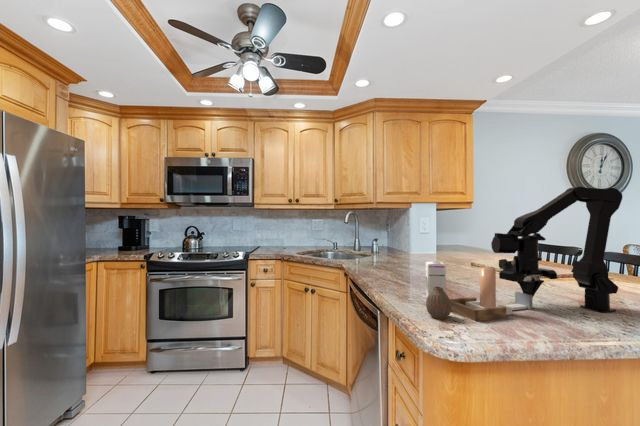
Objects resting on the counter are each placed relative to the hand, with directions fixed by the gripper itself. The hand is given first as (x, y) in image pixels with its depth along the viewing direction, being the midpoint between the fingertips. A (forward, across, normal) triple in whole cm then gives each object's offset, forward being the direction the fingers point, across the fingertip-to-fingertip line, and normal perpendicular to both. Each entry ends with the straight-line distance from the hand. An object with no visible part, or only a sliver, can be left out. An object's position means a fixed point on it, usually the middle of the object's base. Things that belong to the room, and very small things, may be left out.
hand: (528, 300), depth 95 cm
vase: (+2, +36, 0) cm, 36 cm away
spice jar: (+1, +17, 0) cm, 17 cm away
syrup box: (+2, +29, -10) cm, 30 cm away
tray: (+2, +12, 0) cm, 12 cm away
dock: (+2, +22, 0) cm, 22 cm away
